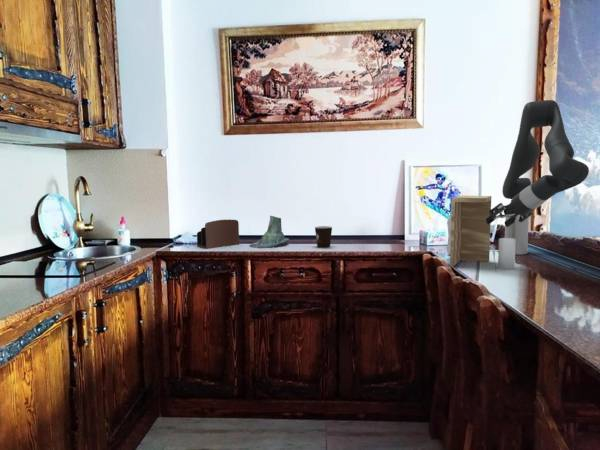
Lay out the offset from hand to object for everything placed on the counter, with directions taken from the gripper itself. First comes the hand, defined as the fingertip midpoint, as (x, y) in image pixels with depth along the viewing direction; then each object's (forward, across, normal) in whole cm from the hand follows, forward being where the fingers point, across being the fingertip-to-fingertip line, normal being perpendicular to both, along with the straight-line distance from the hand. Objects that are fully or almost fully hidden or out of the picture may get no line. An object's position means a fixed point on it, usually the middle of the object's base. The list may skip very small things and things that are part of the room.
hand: (496, 223), depth 160 cm
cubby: (+18, 0, +8) cm, 20 cm away
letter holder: (+97, +87, -30) cm, 134 cm away
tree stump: (+87, +62, -29) cm, 111 cm away
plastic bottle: (+32, -5, -3) cm, 32 cm away
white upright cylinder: (+9, -7, +14) cm, 18 cm away
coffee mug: (+72, +38, -23) cm, 85 cm away
